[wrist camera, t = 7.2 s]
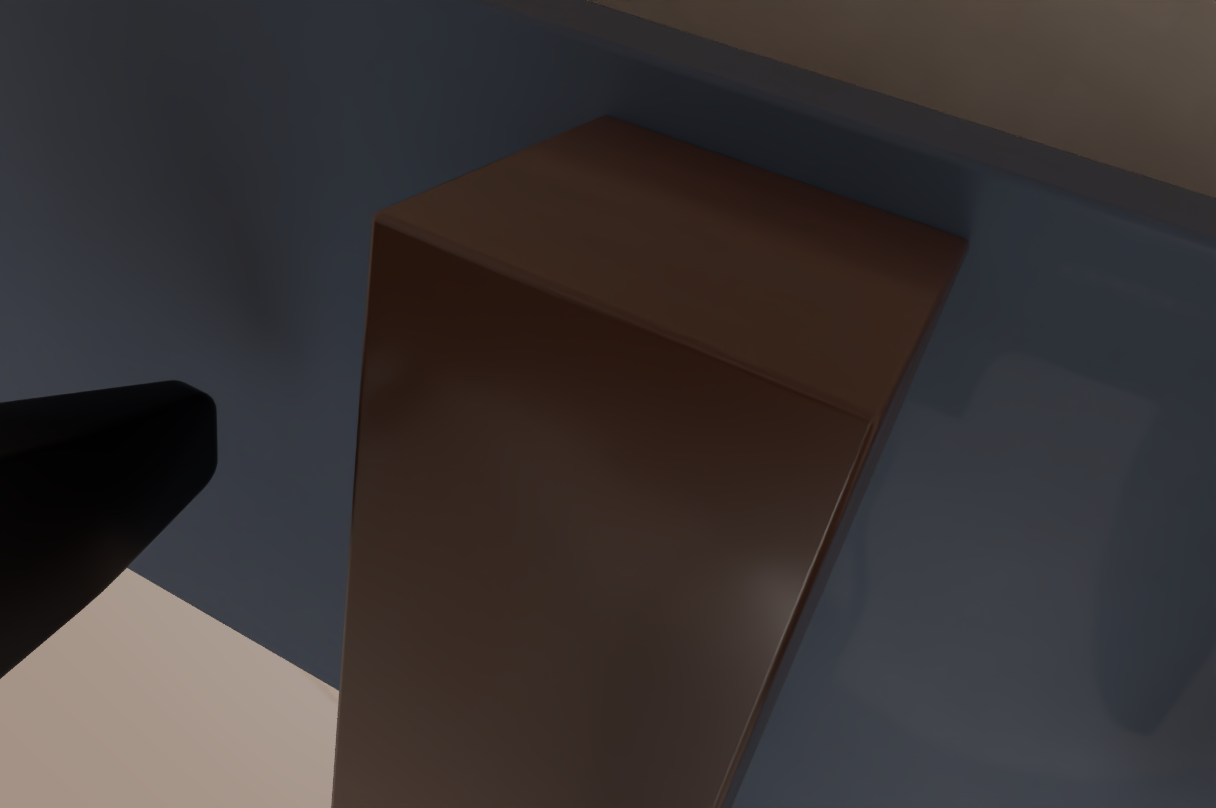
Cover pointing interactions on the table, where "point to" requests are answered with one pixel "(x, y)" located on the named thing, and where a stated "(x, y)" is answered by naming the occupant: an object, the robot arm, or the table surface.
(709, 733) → the block
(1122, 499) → the shelf
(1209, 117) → the table surface
